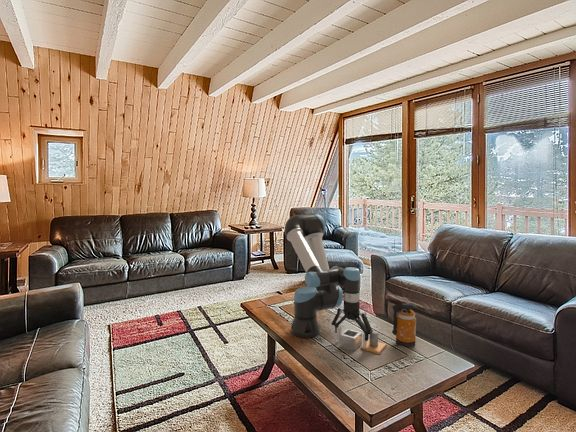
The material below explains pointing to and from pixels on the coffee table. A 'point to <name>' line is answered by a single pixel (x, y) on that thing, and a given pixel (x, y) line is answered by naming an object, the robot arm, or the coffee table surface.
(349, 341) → the grey hollow block
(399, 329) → the canister
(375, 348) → the block
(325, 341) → the coffee table surface
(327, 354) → the coffee table surface
